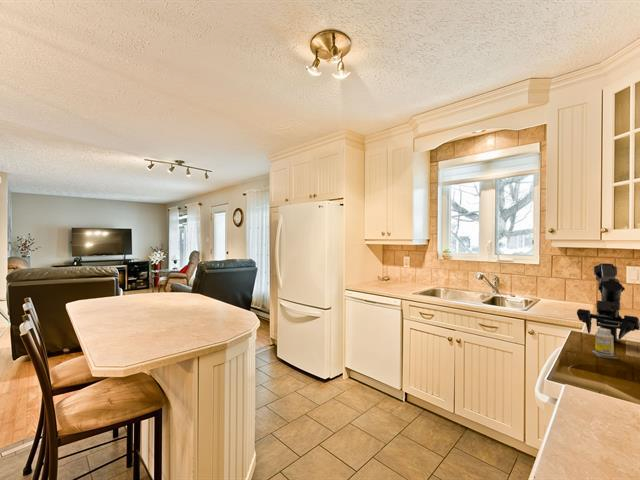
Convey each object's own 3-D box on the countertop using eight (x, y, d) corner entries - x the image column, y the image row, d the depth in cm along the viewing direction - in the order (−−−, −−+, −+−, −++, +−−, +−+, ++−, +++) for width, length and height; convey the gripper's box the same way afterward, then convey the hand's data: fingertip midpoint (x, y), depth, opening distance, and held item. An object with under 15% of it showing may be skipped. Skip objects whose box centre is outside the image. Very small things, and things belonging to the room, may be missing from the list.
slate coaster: (591, 351, 127) (591, 350, 127) (610, 353, 124) (610, 352, 124) (598, 356, 121) (598, 355, 121) (617, 359, 119) (617, 358, 119)
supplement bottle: (603, 351, 126) (603, 326, 126) (617, 356, 120) (617, 330, 120) (591, 351, 125) (591, 327, 125) (605, 356, 120) (605, 331, 120)
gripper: (577, 290, 133) (570, 319, 126) (638, 296, 118) (633, 329, 111) (583, 305, 137) (576, 334, 131) (642, 313, 122) (637, 346, 116)
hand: (603, 335), depth 122 cm, fingers open, 9 cm apart
